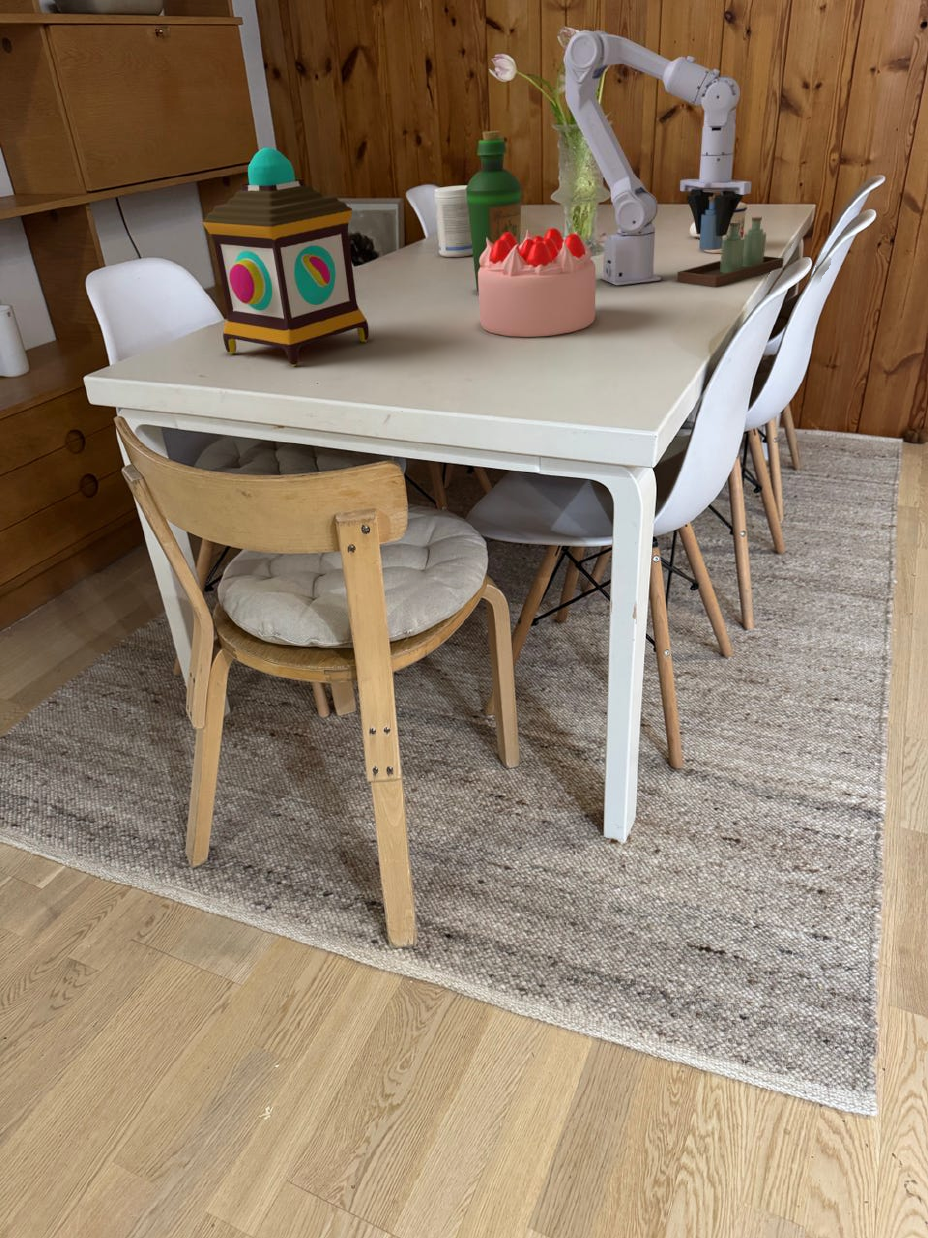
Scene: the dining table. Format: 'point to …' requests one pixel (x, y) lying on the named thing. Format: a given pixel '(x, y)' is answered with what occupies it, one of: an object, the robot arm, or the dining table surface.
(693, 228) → the garlic bulb
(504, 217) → the bottle
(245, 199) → the decorative lantern
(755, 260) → the green bottle far
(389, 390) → the dining table surface
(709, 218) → the blue bottle
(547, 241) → the cake
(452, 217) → the supplement tub
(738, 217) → the cream enamel lidded pot
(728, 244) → the green bottle mid
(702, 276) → the tray
